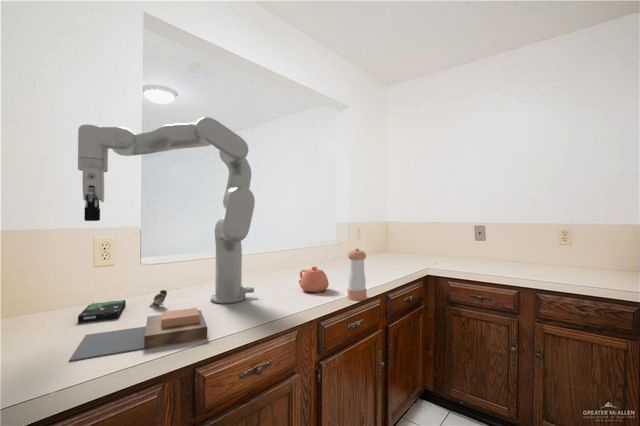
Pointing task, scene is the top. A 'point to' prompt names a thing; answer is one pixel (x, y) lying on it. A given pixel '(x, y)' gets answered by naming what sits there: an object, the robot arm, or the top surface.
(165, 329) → the block
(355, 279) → the pepper shaker
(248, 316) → the top surface
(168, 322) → the block
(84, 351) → the mat
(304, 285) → the sugar bowl
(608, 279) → the top surface
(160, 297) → the bird figurine
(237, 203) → the robot arm
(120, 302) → the disk drive
